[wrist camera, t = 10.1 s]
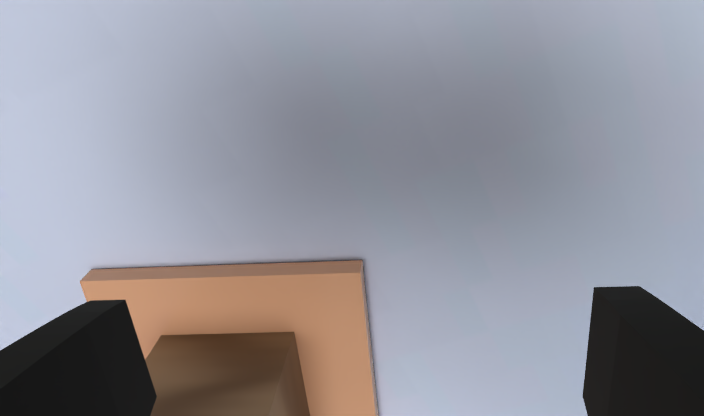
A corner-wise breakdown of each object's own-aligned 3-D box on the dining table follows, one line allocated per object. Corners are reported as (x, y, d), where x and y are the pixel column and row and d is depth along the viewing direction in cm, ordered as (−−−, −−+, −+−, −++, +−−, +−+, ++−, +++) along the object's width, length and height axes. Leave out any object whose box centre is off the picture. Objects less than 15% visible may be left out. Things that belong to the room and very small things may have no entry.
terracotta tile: (362, 260, 19) (360, 272, 18) (383, 465, 23) (383, 482, 22) (91, 269, 20) (79, 281, 19) (158, 462, 24) (150, 478, 24)
